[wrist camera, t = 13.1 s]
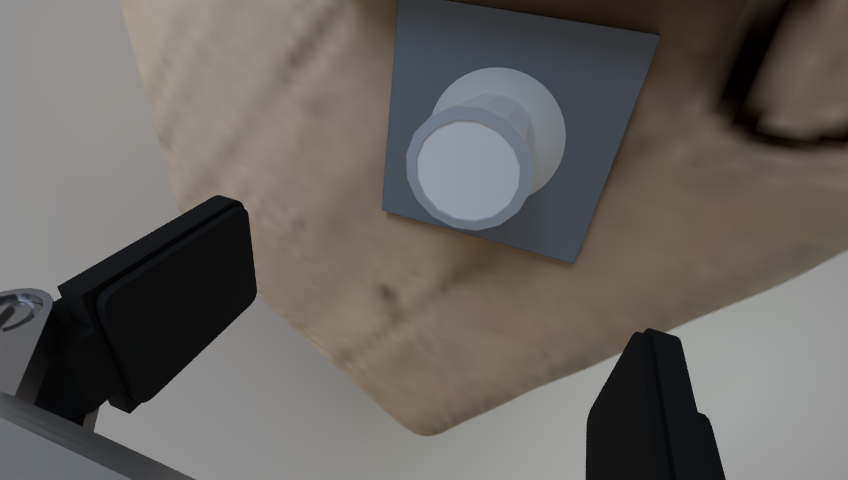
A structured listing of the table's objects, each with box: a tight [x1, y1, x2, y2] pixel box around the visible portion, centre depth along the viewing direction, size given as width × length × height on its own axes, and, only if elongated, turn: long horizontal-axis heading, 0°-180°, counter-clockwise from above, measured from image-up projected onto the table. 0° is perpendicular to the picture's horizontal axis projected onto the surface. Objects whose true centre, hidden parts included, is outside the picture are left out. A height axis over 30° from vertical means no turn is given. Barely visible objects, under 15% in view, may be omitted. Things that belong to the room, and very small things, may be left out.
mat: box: [382, 0, 661, 264], centre depth 29 cm, size 15×15×1 cm
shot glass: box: [406, 92, 535, 231], centre depth 25 cm, size 7×7×7 cm
